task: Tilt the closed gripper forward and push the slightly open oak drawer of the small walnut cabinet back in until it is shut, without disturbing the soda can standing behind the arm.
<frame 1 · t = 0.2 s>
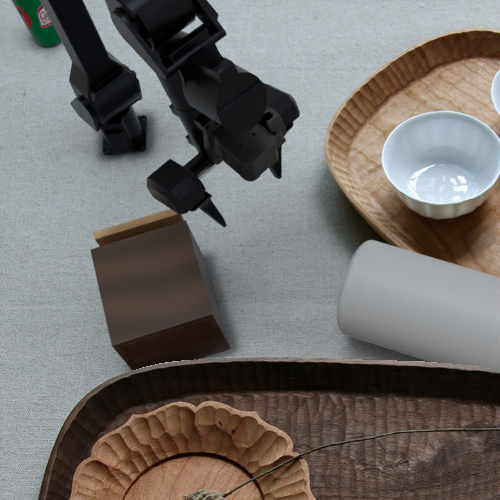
hand: (251, 201, 98), 15 cm above the table, tool pointing down, fingers open, 9 cm apart
cylinder vase: (352, 285, 103), point 6 cm above the table
drawer: (155, 273, 107), point 5 cm above the table, slide at 2.0 cm
cabinet: (173, 317, 110), on the table
soda can: (51, 37, 131), on the table
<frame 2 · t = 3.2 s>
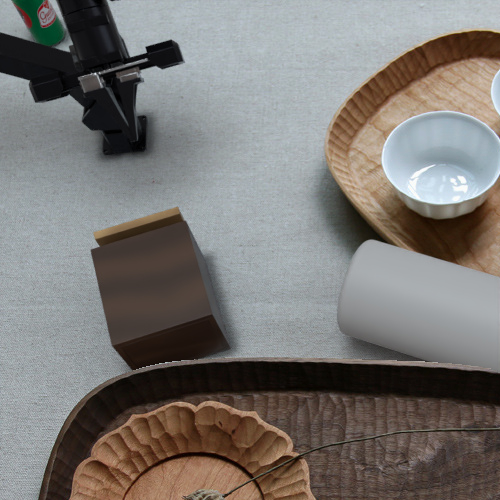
hand: (134, 141, 105), 13 cm above the table, tool tilted 45°, fingers closed
nothing on the table moved.
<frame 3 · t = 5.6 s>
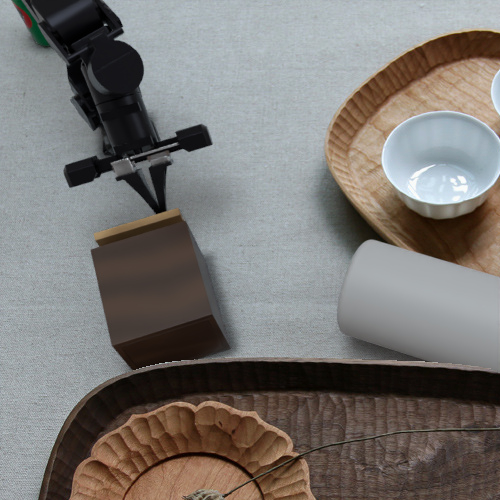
hand: (164, 219, 108), 7 cm above the table, tool tilted 45°, fingers closed, pressing on drawer
drawer: (155, 274, 107), point 5 cm above the table, slide at 1.8 cm, touching gripper
everything else where it was.
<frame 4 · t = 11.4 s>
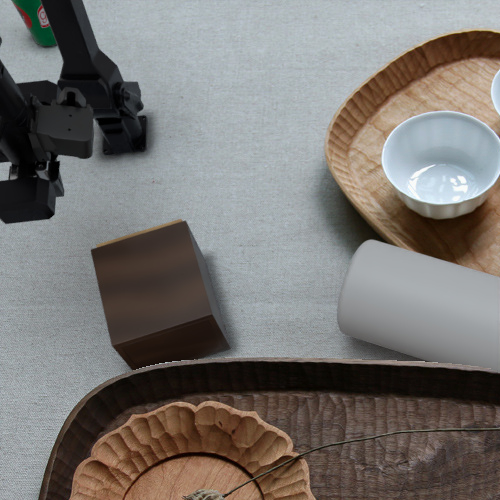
hand: (60, 194, 102), 13 cm above the table, tool pointing down, fingers closed
drawer: (158, 285, 106), point 5 cm above the table, slide at 0.0 cm, touching cabinet
everything else where it was.
at the end: drawer slide at 0.0 cm; soda can moved 0.2 cm from its start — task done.
